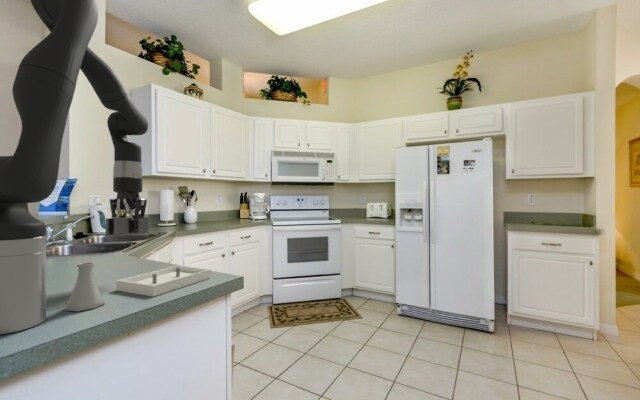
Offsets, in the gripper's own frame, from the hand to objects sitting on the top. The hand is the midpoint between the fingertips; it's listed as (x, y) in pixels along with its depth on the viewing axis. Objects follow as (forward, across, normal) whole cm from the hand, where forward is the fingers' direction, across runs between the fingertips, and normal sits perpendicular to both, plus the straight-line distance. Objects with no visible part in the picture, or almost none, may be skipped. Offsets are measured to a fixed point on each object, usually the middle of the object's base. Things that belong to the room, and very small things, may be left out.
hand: (127, 232), depth 92 cm
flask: (+15, +13, -19) cm, 28 cm away
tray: (+15, +14, +2) cm, 21 cm away
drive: (+1, 0, 0) cm, 1 cm away
